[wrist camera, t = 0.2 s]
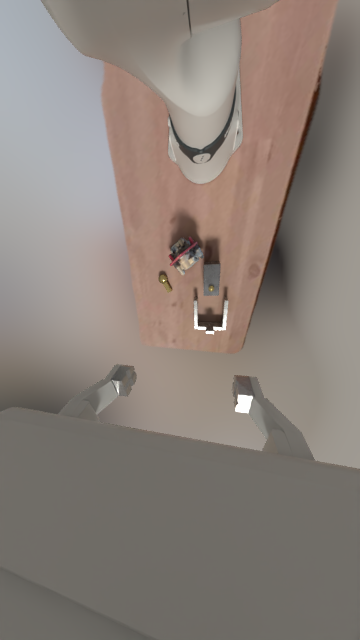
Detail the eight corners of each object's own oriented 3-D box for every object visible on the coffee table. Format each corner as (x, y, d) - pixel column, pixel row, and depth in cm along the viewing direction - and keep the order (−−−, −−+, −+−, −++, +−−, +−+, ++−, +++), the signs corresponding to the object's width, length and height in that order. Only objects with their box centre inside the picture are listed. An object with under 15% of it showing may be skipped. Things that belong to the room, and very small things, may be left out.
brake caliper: (185, 222, 44) (196, 243, 38) (202, 246, 52) (214, 267, 46) (159, 247, 49) (165, 270, 43) (178, 266, 57) (186, 287, 51)
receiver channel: (194, 297, 57) (193, 303, 51) (227, 296, 55) (229, 303, 49) (195, 324, 63) (193, 333, 57) (224, 325, 61) (226, 334, 55)
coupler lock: (204, 261, 51) (203, 265, 44) (219, 261, 50) (220, 264, 43) (204, 289, 56) (203, 296, 49) (217, 289, 55) (218, 296, 48)
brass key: (158, 276, 56) (157, 277, 55) (164, 272, 55) (163, 273, 54) (167, 292, 59) (166, 293, 57) (174, 289, 58) (173, 290, 56)
